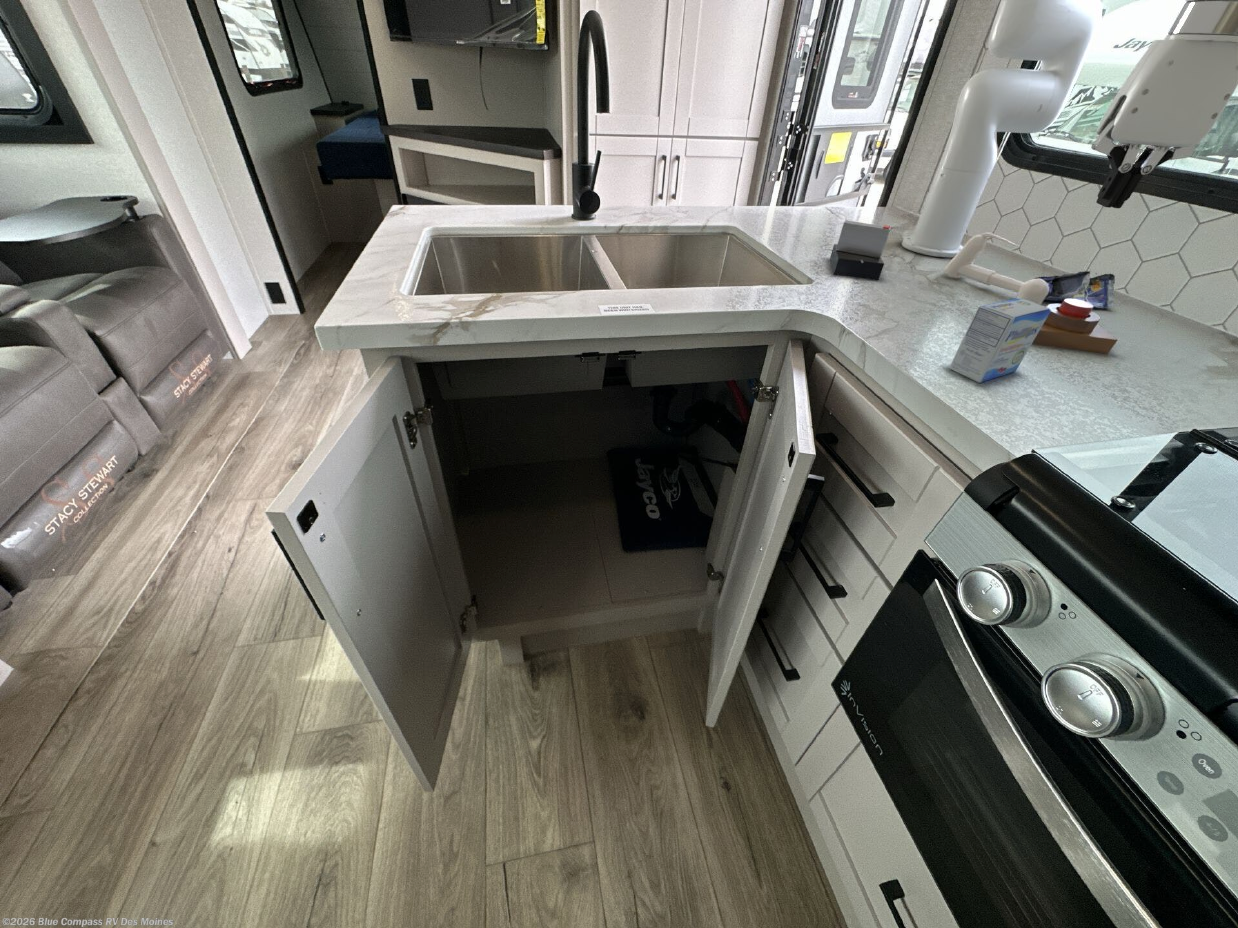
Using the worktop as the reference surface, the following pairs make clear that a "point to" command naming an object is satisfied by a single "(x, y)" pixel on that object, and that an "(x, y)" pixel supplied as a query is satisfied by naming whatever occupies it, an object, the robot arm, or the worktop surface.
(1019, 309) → the medicine box
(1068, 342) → the button block
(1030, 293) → the faucet
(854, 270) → the lever base
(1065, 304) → the button
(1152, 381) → the worktop surface
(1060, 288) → the snack package
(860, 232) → the grey rectangular slab
